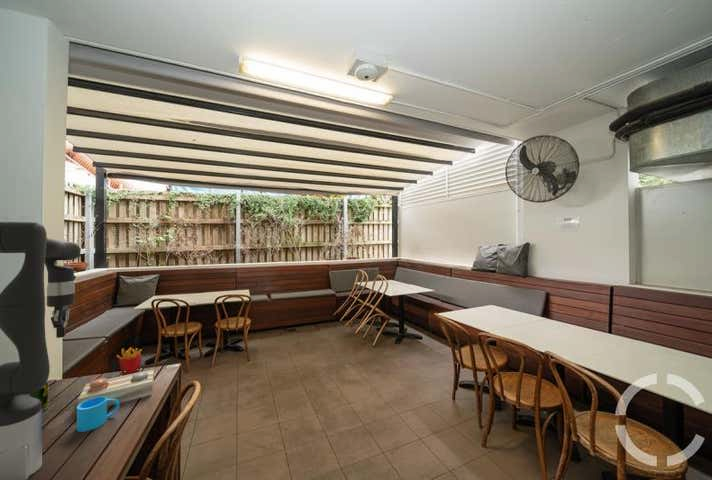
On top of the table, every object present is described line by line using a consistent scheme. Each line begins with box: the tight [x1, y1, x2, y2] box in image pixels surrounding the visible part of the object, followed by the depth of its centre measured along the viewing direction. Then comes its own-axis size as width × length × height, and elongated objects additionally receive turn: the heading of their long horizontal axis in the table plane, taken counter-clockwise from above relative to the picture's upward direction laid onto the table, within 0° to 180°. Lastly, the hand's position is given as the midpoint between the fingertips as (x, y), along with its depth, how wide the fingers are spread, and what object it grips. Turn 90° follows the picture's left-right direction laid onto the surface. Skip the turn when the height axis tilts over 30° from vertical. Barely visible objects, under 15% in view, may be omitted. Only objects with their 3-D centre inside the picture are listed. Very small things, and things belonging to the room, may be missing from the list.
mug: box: [76, 397, 121, 433], centre depth 105 cm, size 12×8×8 cm
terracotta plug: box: [90, 377, 108, 392], centre depth 118 cm, size 5×5×7 cm
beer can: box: [28, 379, 50, 412], centre depth 112 cm, size 5×5×12 cm
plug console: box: [77, 368, 155, 407], centre depth 122 cm, size 14×24×6 cm, turn 125°
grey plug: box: [132, 371, 147, 382], centre depth 126 cm, size 5×5×7 cm
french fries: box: [116, 347, 143, 376], centre depth 138 cm, size 9×8×15 cm
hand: (61, 336), depth 107 cm, fingers closed
